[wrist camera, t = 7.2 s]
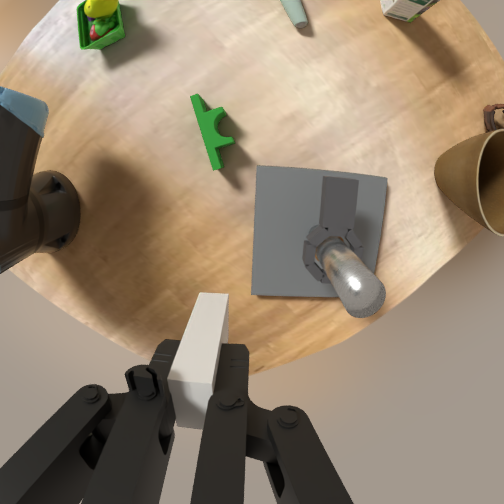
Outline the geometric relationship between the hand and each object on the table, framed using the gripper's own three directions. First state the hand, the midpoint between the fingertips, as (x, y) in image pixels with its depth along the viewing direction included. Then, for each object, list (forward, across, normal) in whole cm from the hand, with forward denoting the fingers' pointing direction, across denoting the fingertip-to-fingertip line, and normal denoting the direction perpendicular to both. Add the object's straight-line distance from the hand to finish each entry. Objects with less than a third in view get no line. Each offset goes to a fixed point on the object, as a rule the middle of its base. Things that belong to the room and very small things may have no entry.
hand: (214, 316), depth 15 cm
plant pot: (+31, +36, +10) cm, 48 cm away
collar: (+22, +12, 0) cm, 25 cm away
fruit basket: (+31, -24, +34) cm, 52 cm away
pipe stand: (+30, +12, -3) cm, 33 cm away
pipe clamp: (+31, -4, +12) cm, 33 cm away
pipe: (+28, +12, -3) cm, 31 cm away
